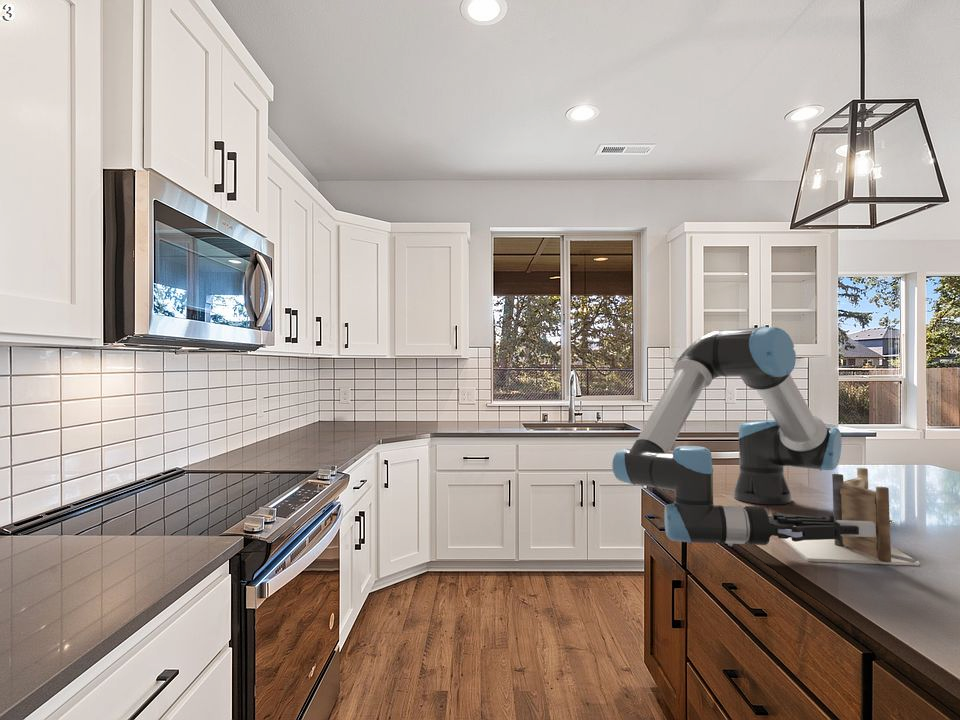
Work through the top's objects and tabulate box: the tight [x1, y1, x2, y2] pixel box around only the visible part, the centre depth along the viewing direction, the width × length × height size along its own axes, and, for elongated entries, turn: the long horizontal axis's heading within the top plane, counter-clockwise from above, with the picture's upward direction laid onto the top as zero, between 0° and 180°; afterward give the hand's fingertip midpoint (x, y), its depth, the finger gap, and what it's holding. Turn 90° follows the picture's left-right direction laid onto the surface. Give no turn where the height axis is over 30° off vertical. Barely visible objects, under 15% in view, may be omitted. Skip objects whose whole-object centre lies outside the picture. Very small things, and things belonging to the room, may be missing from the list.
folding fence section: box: [840, 484, 892, 562], centre depth 115 cm, size 11×2×14 cm, turn 5°
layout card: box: [780, 538, 921, 566], centre depth 122 cm, size 22×20×1 cm
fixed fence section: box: [831, 467, 869, 547], centre depth 125 cm, size 14×2×15 cm, turn 125°
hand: (873, 529), depth 111 cm, fingers closed
